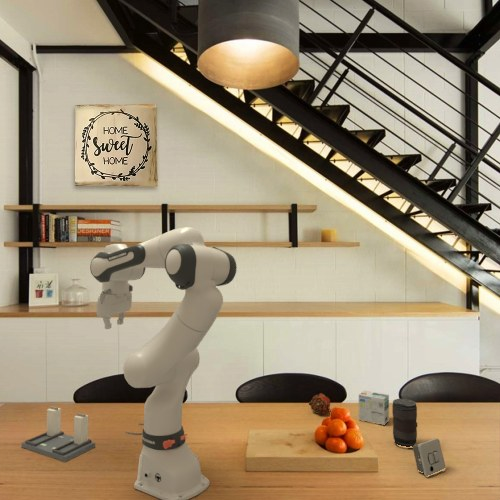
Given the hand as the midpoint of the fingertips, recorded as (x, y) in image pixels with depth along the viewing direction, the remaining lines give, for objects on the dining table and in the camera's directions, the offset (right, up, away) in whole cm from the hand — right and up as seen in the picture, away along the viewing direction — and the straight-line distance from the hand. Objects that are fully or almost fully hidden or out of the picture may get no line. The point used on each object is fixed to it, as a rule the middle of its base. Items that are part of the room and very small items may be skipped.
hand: (114, 326), depth 153 cm
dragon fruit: (+79, -42, +26) cm, 93 cm away
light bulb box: (+99, -41, +17) cm, 109 cm away
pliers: (+13, -41, +7) cm, 44 cm away
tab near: (-9, -38, -8) cm, 40 cm away
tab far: (-21, -38, -1) cm, 44 cm away
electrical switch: (+104, -41, -23) cm, 114 cm away
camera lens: (+103, -41, -4) cm, 111 cm away
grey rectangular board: (-17, -40, -8) cm, 44 cm away
